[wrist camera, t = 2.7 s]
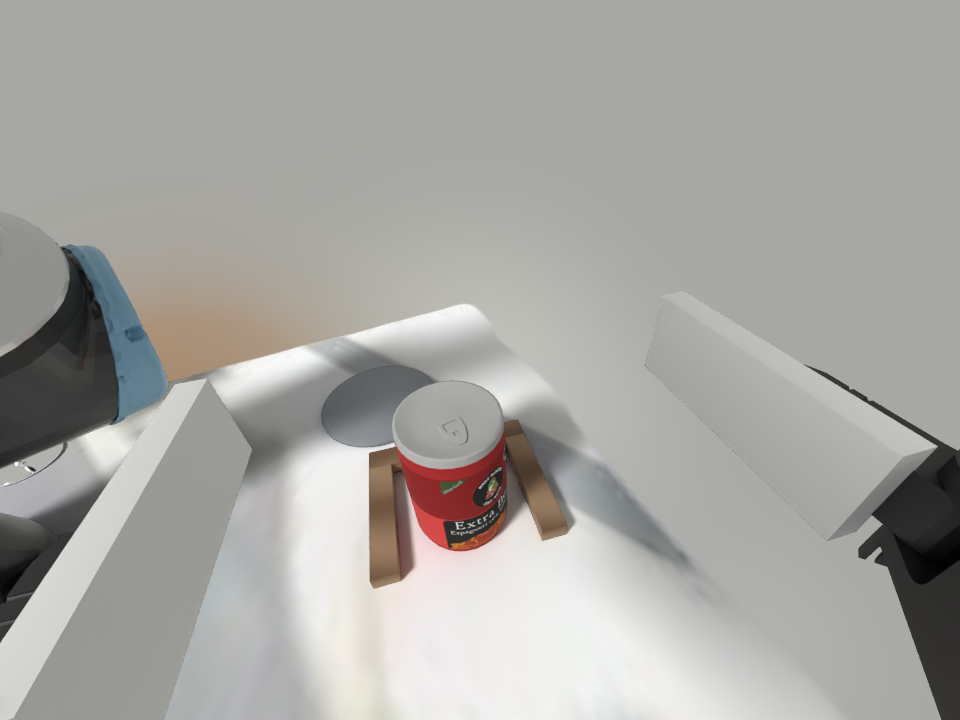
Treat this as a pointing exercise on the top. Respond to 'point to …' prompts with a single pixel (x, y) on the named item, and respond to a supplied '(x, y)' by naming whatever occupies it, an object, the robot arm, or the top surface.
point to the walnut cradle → (384, 503)
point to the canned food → (453, 462)
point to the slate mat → (369, 405)
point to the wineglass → (28, 466)
